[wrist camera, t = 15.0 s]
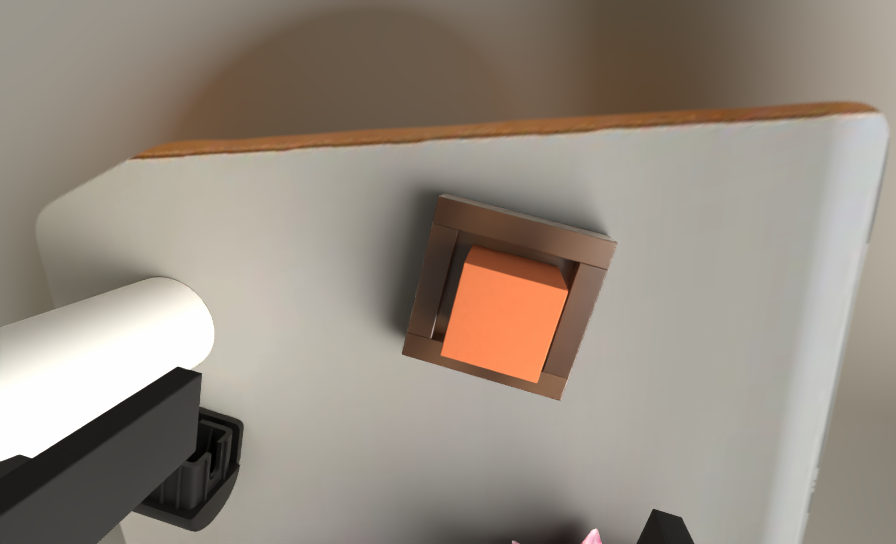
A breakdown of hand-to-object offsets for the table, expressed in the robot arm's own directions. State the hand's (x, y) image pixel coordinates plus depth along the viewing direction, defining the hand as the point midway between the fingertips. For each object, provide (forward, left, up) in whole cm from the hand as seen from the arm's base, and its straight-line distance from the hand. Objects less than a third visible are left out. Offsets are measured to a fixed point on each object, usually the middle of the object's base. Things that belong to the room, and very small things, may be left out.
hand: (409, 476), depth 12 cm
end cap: (+1, -29, -20) cm, 36 cm away
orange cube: (+2, +2, -19) cm, 19 cm away
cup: (-9, -24, -20) cm, 33 cm away
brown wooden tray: (+2, +2, -20) cm, 20 cm away
